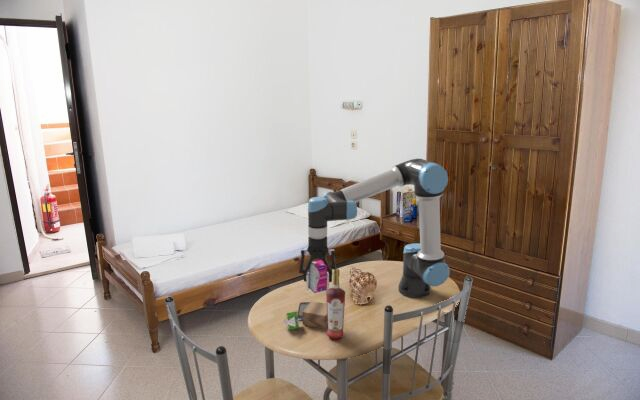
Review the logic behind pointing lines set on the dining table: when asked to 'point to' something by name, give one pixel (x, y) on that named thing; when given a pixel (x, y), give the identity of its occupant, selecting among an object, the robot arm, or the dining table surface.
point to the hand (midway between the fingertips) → (317, 288)
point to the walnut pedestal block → (315, 315)
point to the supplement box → (318, 276)
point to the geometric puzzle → (292, 320)
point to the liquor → (335, 307)
